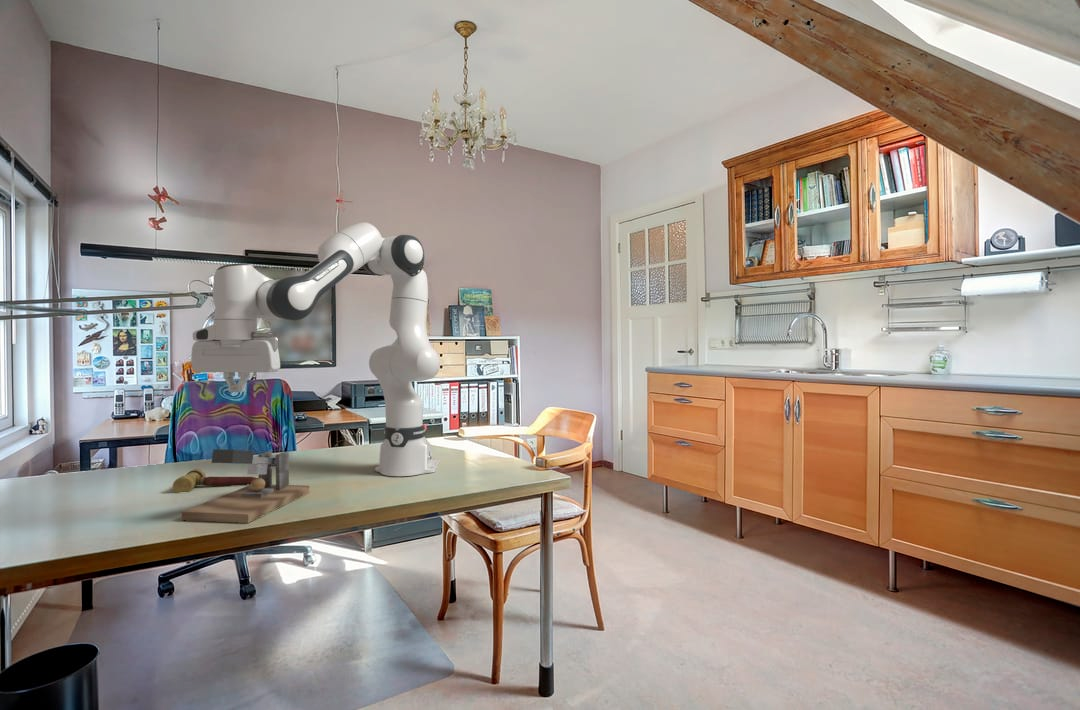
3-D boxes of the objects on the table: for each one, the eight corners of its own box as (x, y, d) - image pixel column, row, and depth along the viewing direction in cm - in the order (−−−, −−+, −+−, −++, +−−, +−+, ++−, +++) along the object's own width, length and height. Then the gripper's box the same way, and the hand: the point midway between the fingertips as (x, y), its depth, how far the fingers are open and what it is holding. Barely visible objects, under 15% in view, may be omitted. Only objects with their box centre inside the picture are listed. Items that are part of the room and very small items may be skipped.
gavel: (269, 469, 154) (260, 477, 145) (268, 484, 154) (259, 494, 145) (187, 468, 149) (173, 477, 139) (186, 484, 149) (171, 494, 139)
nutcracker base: (253, 491, 141) (252, 450, 141) (309, 493, 139) (308, 451, 139) (181, 520, 117) (181, 471, 117) (248, 523, 115) (247, 473, 115)
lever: (266, 473, 138) (269, 452, 139) (284, 474, 137) (286, 452, 138) (209, 474, 118) (213, 449, 119) (230, 475, 118) (233, 449, 119)
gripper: (285, 332, 125) (286, 391, 125) (206, 333, 127) (207, 390, 128) (268, 332, 119) (269, 393, 119) (185, 333, 121) (187, 393, 121)
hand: (236, 392), depth 123 cm, fingers closed
